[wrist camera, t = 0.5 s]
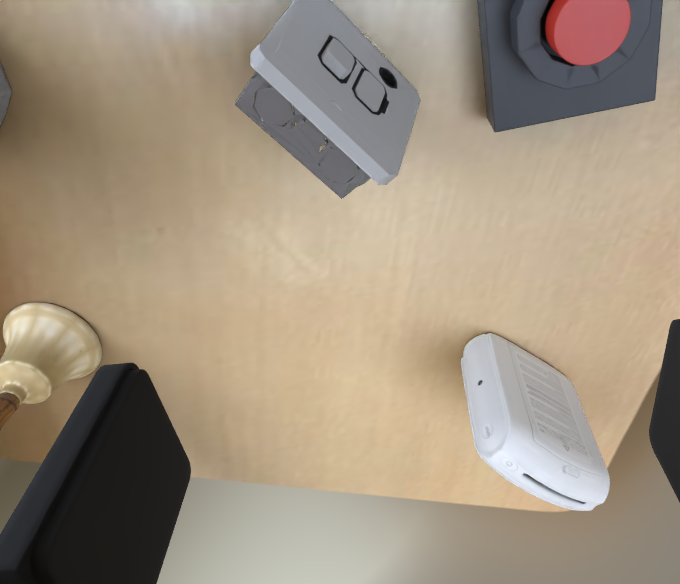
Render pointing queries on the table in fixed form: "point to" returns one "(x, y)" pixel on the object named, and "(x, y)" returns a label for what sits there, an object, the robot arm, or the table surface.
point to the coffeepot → (4, 94)
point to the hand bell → (43, 354)
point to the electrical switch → (330, 97)
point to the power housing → (560, 66)
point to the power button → (587, 29)
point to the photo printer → (531, 425)
